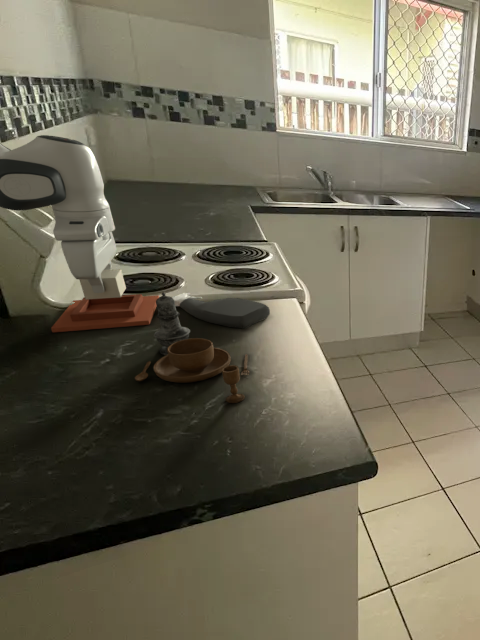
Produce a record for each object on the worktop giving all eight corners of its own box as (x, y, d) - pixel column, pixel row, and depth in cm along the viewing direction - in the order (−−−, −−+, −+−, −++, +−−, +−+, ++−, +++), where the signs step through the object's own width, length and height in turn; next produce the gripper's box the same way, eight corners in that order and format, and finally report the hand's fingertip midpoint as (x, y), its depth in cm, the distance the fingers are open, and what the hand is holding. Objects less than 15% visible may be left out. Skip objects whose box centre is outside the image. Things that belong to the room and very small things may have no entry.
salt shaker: (162, 343, 95) (148, 287, 90) (196, 341, 97) (184, 286, 92) (153, 356, 90) (139, 298, 85) (189, 354, 92) (177, 296, 87)
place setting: (250, 350, 96) (246, 323, 94) (248, 401, 80) (243, 371, 78) (145, 360, 89) (137, 331, 86) (119, 419, 73) (109, 386, 70)
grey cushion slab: (239, 331, 103) (152, 311, 109) (275, 315, 113) (193, 297, 118) (237, 319, 102) (149, 299, 108) (273, 303, 111) (191, 286, 117)
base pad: (52, 332, 95) (48, 321, 94) (74, 304, 108) (71, 294, 107) (149, 324, 102) (146, 313, 101) (159, 299, 115) (157, 289, 114)
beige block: (85, 299, 99) (79, 279, 98) (92, 290, 104) (86, 270, 102) (120, 297, 102) (115, 277, 100) (126, 288, 107) (121, 269, 105)
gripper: (79, 211, 103) (97, 272, 109) (49, 234, 87) (71, 304, 93) (115, 211, 106) (130, 271, 112) (93, 233, 90) (112, 301, 96)
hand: (104, 286), depth 102 cm, fingers closed on beige block, 6 cm apart
